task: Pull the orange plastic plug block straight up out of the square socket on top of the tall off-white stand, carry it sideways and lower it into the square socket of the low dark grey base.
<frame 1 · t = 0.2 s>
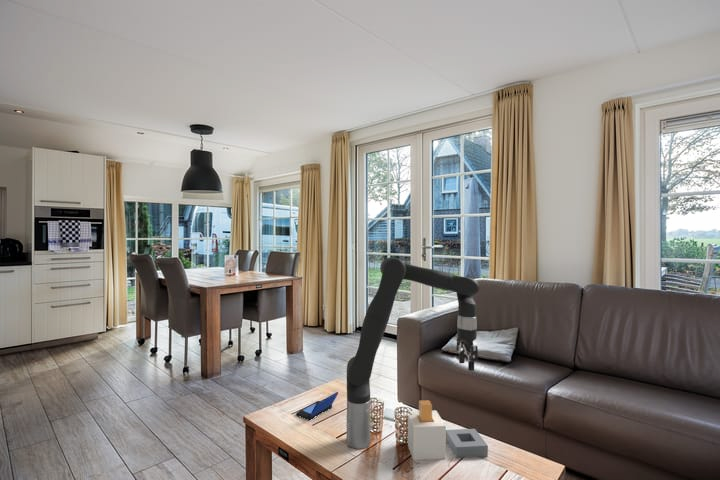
hand: (466, 366, 147), 29 cm above the table, tool pointing down, fingers open, 8 cm apart
upper stand: (425, 449, 139), on the table
hard drive: (387, 415, 167), on the table
lower base: (465, 447, 140), on the table
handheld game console: (317, 413, 168), on the table
plug: (425, 426, 139), point 9 cm above the table, touching upper stand
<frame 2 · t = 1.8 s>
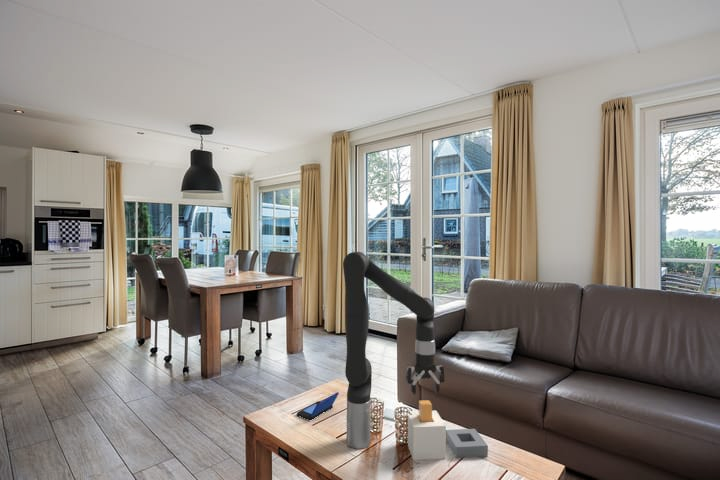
hand: (425, 393, 138), 22 cm above the table, tool pointing down, fingers open, 8 cm apart
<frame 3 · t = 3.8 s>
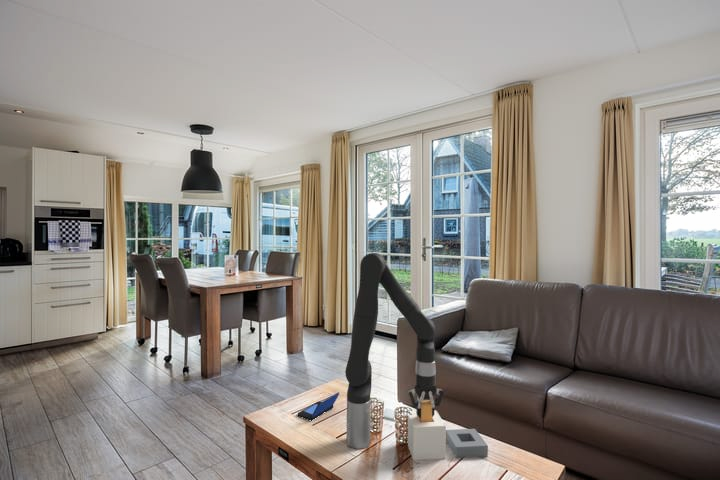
hand: (425, 416, 138), 13 cm above the table, tool pointing down, fingers closed on plug, 4 cm apart
plug: (425, 426, 139), point 9 cm above the table, touching gripper, upper stand
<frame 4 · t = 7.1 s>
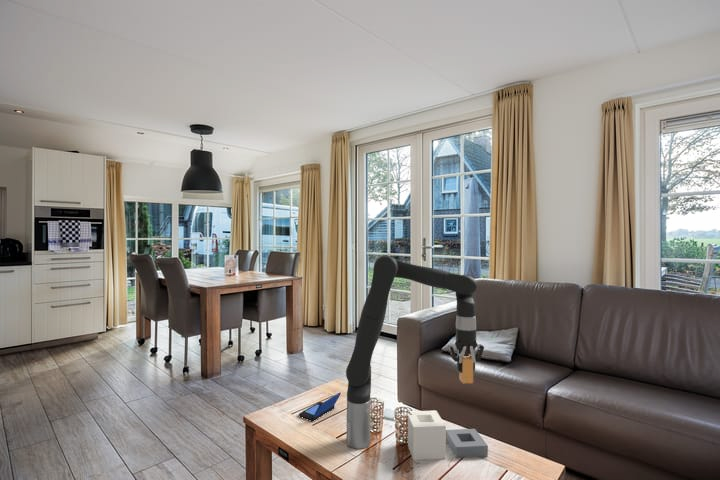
hand: (466, 371, 140), 29 cm above the table, tool pointing down, fingers closed on plug, 4 cm apart
plug: (466, 381, 140), point 26 cm above the table, touching gripper
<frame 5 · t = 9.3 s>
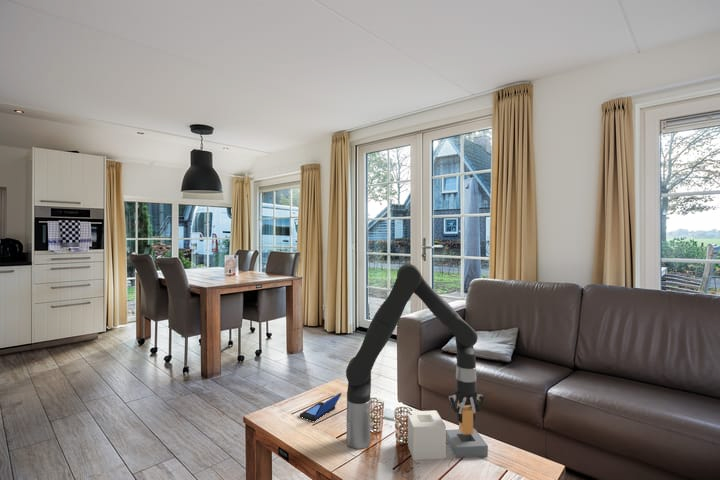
hand: (466, 421, 140), 10 cm above the table, tool pointing down, fingers closed on plug, 4 cm apart
plug: (466, 431, 140), point 6 cm above the table, touching gripper
when the fingers open (6 cm above the table, at t = 10.8 s): plug drops 1 cm, resting on lower base.
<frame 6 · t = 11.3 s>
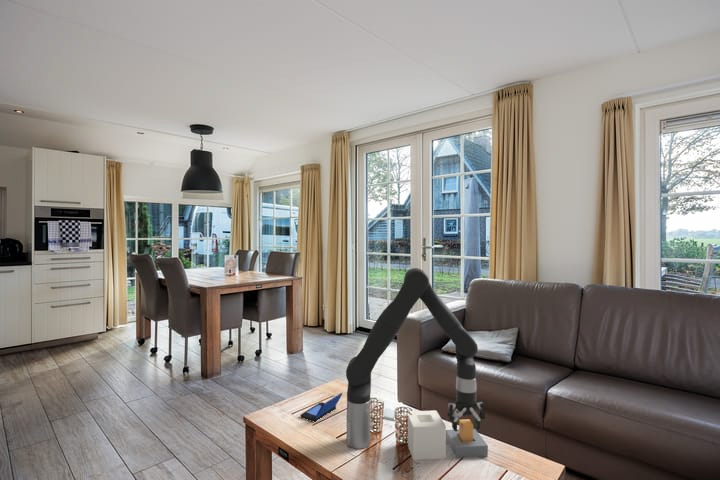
hand: (466, 430, 140), 7 cm above the table, tool pointing down, fingers open, 8 cm apart
plug: (465, 445, 140), point 1 cm above the table, touching lower base
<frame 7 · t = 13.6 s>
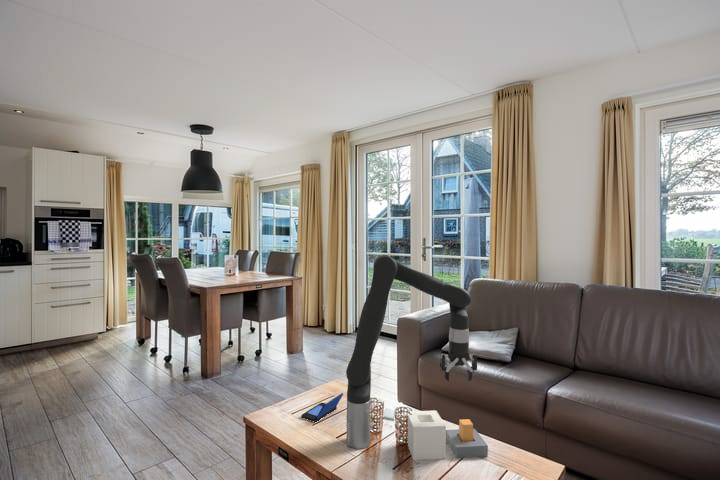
hand: (457, 380, 142), 25 cm above the table, tool pointing down, fingers open, 8 cm apart
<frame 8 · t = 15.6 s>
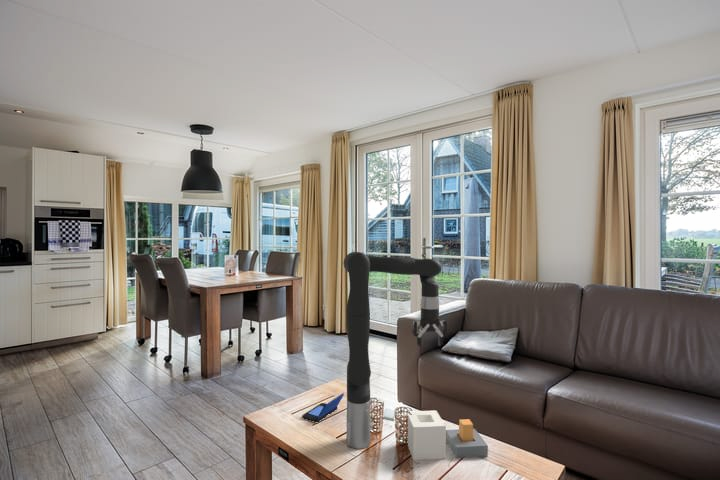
hand: (429, 345, 151), 36 cm above the table, tool pointing down, fingers open, 8 cm apart
at the end: plug 0.0 cm off-centre on the lower base, point 1.0 cm above the lower base's base; plug tilted 0°; the gripper is holding nothing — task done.
